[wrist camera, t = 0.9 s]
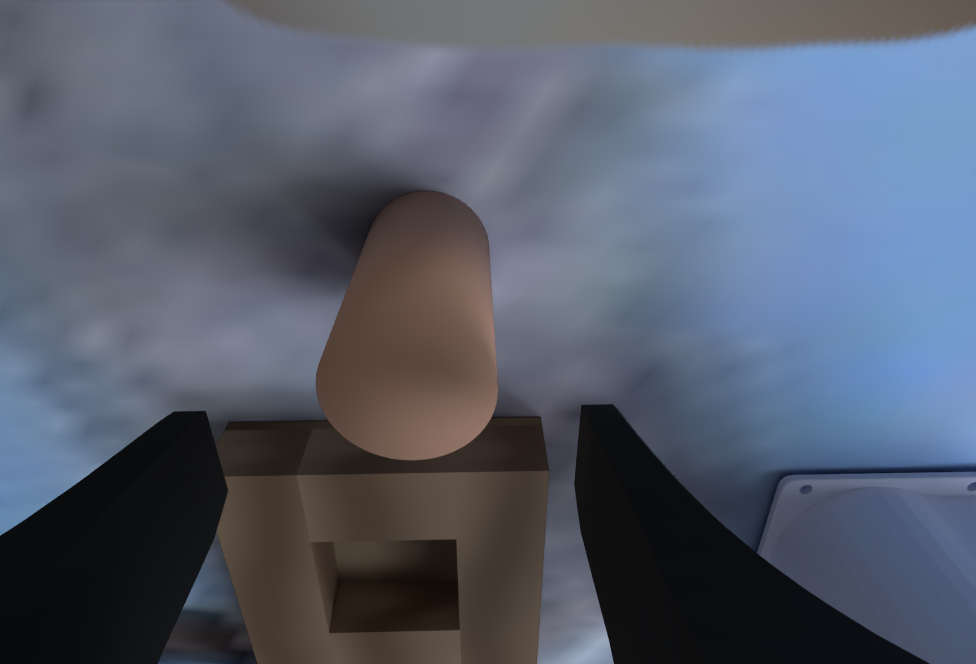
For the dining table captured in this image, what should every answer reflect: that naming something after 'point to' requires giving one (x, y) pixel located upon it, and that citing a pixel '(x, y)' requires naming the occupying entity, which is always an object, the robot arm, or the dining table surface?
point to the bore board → (385, 545)
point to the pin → (414, 334)
